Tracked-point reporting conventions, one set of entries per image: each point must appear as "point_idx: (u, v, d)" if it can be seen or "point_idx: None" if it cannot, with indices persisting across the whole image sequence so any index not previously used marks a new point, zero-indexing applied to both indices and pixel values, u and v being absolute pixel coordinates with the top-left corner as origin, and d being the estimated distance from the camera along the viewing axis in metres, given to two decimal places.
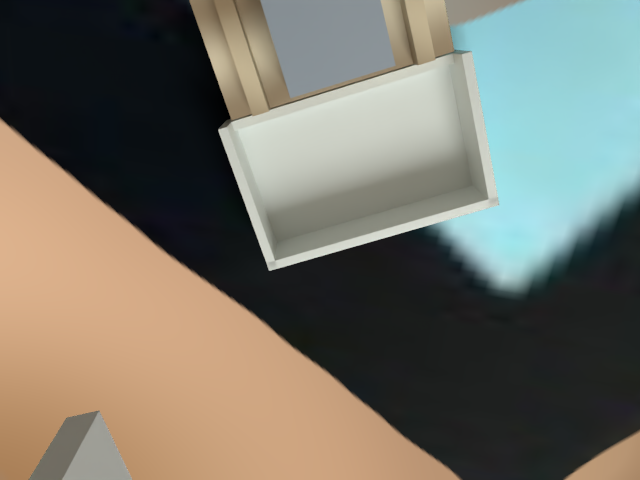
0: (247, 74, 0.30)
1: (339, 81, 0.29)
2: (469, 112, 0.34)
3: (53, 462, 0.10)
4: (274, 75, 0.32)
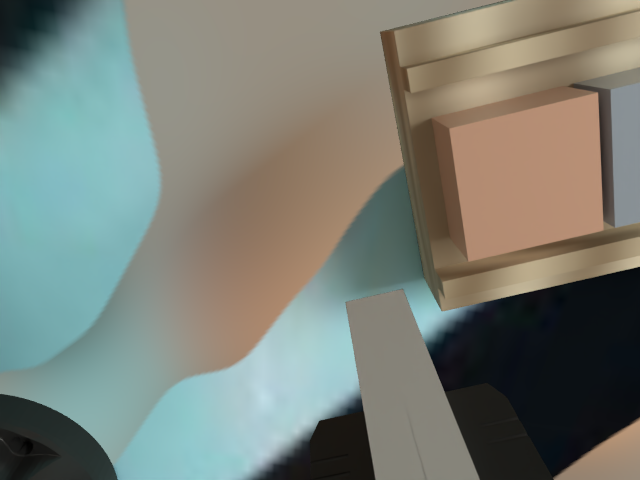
0: None
1: None
2: None
3: (364, 327, 0.12)
4: None
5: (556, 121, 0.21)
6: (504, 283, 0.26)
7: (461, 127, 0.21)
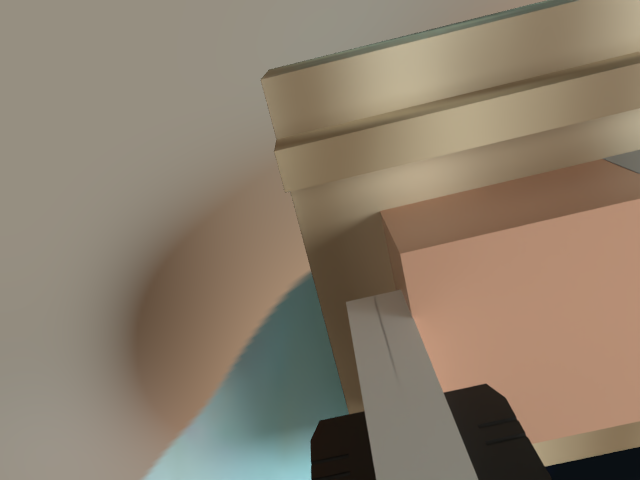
0: None
1: None
2: None
3: (364, 326, 0.12)
4: None
5: (599, 240, 0.12)
6: None
7: (422, 252, 0.11)
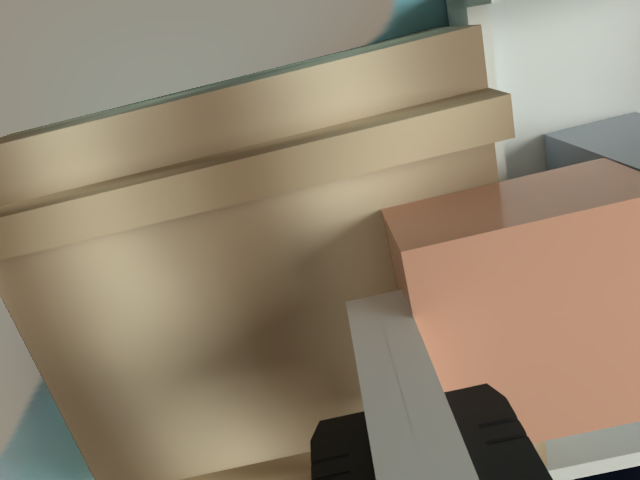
0: None
1: None
2: None
3: (364, 326, 0.12)
4: None
5: (601, 238, 0.11)
6: None
7: (423, 249, 0.11)
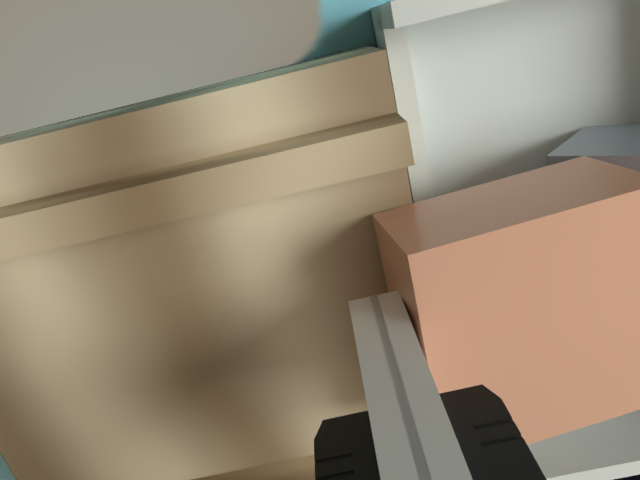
0: None
1: None
2: None
3: (367, 325, 0.12)
4: None
5: (598, 233, 0.12)
6: None
7: (430, 252, 0.11)
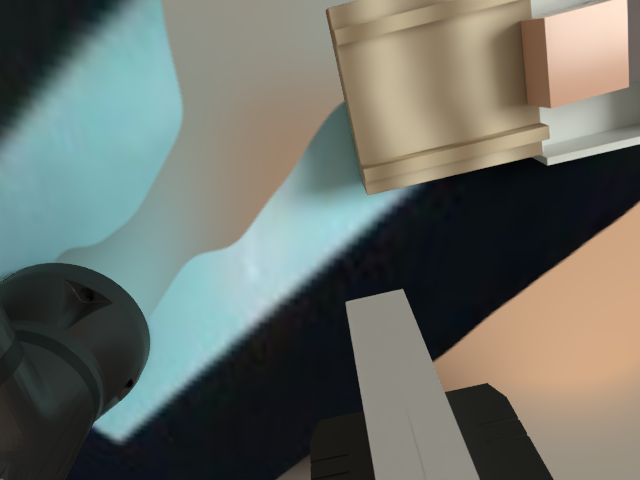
0: (518, 139, 0.39)
1: None
2: None
3: (364, 327, 0.12)
4: (516, 117, 0.40)
5: (604, 14, 0.35)
6: (403, 171, 0.40)
7: (551, 17, 0.35)
